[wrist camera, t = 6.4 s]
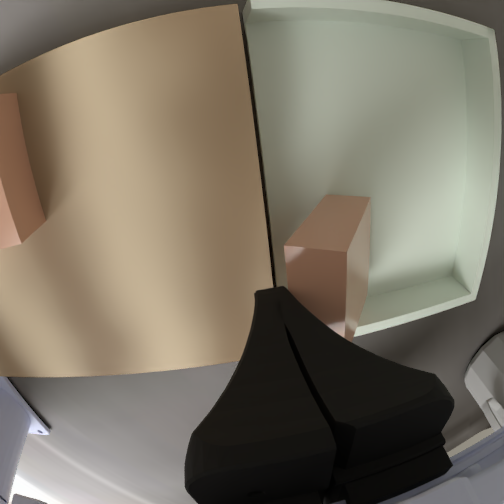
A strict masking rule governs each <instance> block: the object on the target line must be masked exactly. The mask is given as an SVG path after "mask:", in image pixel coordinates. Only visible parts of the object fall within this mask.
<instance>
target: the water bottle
mask: <svg viewBox="0 0 504 504" xmlns="http://www.w3.org/2000/svg"><path fill="white" fill-rule="evenodd" d="M465 384H466V387H467V389H468V390H469V391H470V393H471V394H472V396H473V397H474V399H475V400H476V402H477V403H478V404H479V406H480V407H481V409H482V410H483V412H484V414H485V416H486V418H487V420H488V421H489V423H490V425H491V427H492V428H493V430H494V431H497V430H498V429H500V428H501V427H503V426H504V331H503V332H501V333H499V334H497V335H495V336H493V337H492V338H491V339H490V340H489V341H488V342H487V343H486V344H484V345H483V346H482V347H481V348H480V350H479V351H478V352H477V353H476V355H475V356H474V357H473V359H472V360H471V362H470V364H469V366H468V368H467V371H466V373H465Z"/></svg>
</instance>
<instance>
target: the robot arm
mask: <svg viewBox="0 0 504 504" xmlns="http://www.w3.org/2000/svg"><path fill="white" fill-rule="evenodd" d="M254 298H255V306H254V314H253V319H252V324H251V329H250V332H249V336H248V339H247V342H246V345H245V348H244V351H243V354H242V356H241V359H240V361H239V363H238V365H237V368H236V370H235V372H234V374H233V376H232V377H231V379H230V381H229V383H228V385H227V387H226V388H225V390H224V392H223V393H222V395H221V396H220V398H219V399H218V401H217V402H216V404H215V405H214V407H213V408H212V409H211V411H210V412H209V413H208V415H207V416H206V417H205V418H204V420H203V421H202V422H201V423H200V424H199V426H198V427H197V428H196V429H195V430H194V431H193V433H192V435H191V438H190V442H189V445H188V449H187V454H186V460H185V488H186V490H187V492H188V493H189V494H190V496H191V497H192V498H193V499H194V500H195V501H196V502H197V503H198V504H503V503H504V426H503V427H501V428H500V429H498V430H497V431H495V432H494V433H492V434H491V435H489V436H488V437H486V438H484V439H483V440H481V441H479V442H478V443H476V444H474V445H472V446H471V447H469V448H467V449H465V450H463V451H462V452H460V453H458V454H456V455H454V456H452V457H450V458H449V456H448V455H447V453H446V451H445V449H444V447H443V445H444V444H445V439H444V437H443V435H442V433H441V431H442V429H443V428H444V426H445V424H446V423H447V421H448V419H449V417H450V416H451V413H452V411H453V409H454V399H453V398H452V396H451V395H450V393H449V392H448V390H447V388H446V387H445V386H444V384H443V383H442V382H441V381H440V379H439V378H438V377H437V376H436V375H435V374H432V373H428V372H425V371H421V370H417V369H413V368H409V367H406V366H403V365H400V364H398V363H395V362H392V361H389V360H387V359H384V358H382V357H380V356H377V355H375V354H373V353H371V352H369V351H367V350H365V349H363V348H361V347H359V346H357V345H355V344H353V343H352V342H350V341H348V340H347V339H345V338H344V337H342V336H341V335H339V334H338V333H336V332H335V331H333V330H332V329H331V328H329V327H328V326H327V325H325V324H324V323H323V322H322V321H320V320H319V319H318V318H317V317H316V316H314V315H313V314H312V313H311V312H310V311H309V310H308V309H307V308H305V307H304V306H303V305H302V304H301V303H300V302H299V301H298V300H297V299H296V298H295V297H294V296H293V295H292V294H291V293H290V291H289V290H288V289H287V288H286V287H284V286H279V287H274V288H268V289H262V290H257V291H256V292H255V293H254ZM28 433H33V434H42V435H49V434H50V430H49V428H48V427H47V426H46V425H45V424H44V423H43V422H42V421H41V419H40V418H39V417H38V416H37V415H36V414H35V413H34V411H33V410H32V409H31V408H30V407H29V405H28V404H27V403H26V402H25V400H24V399H23V398H22V397H21V395H20V394H19V393H18V392H17V390H16V389H15V388H14V386H13V385H12V384H11V382H10V381H9V380H8V378H7V377H4V376H0V504H8V502H9V497H10V493H11V489H12V485H13V481H14V477H15V474H16V470H17V466H18V463H19V459H20V456H21V453H22V450H23V446H24V443H25V440H26V437H27V434H28ZM12 504H47V503H45V502H42V501H40V500H37V499H33V498H29V497H25V496H22V495H18V494H14V495H13V500H12Z"/></svg>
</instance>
